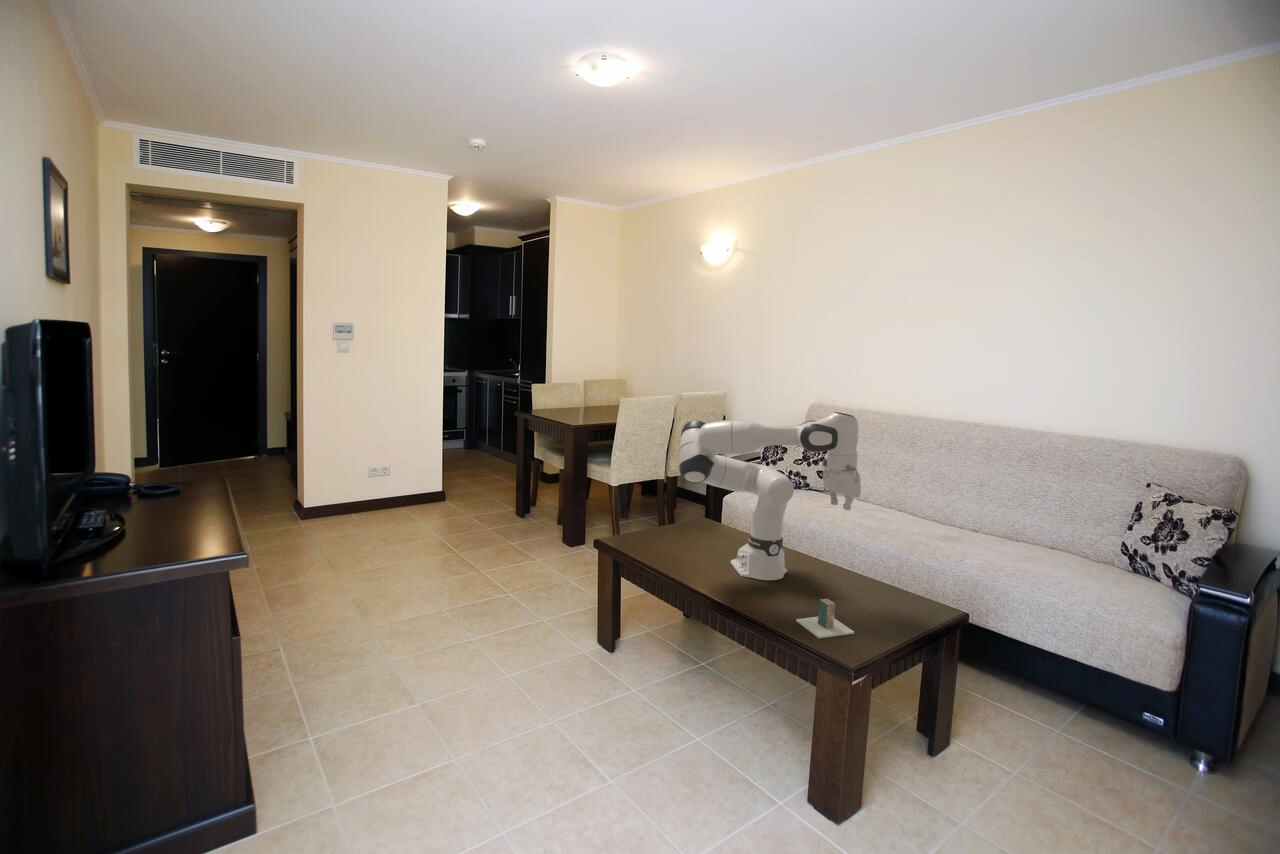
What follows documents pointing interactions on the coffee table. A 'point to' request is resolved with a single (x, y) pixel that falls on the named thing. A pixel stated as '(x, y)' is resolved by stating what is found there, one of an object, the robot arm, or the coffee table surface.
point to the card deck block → (826, 613)
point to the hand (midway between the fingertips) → (840, 507)
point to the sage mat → (820, 631)
